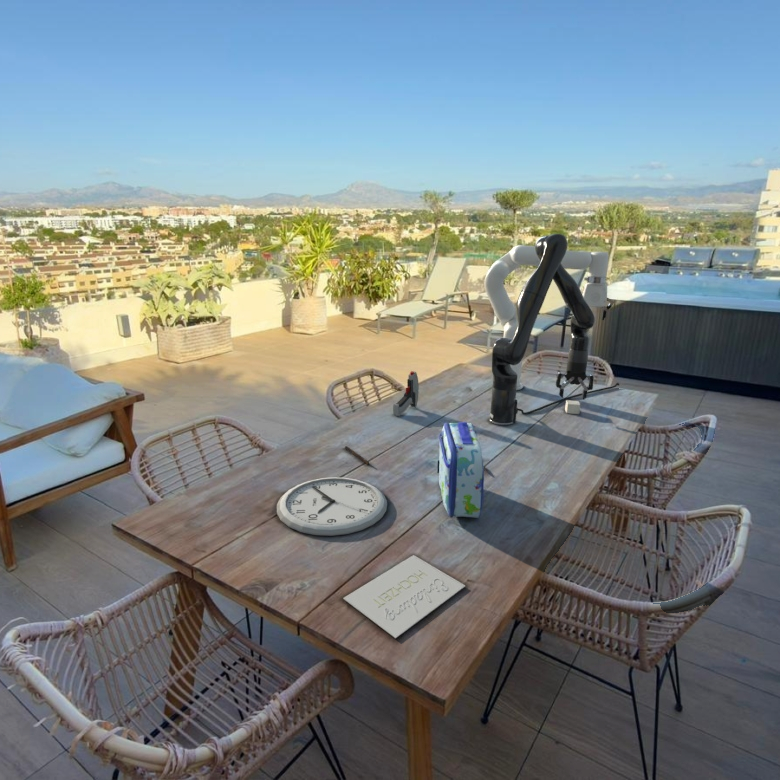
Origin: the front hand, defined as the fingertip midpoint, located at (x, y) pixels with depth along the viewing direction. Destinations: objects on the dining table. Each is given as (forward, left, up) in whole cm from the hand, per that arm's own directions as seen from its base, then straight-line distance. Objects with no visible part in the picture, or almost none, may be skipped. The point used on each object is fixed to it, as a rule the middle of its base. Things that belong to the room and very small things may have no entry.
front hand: (572, 398), depth 215 cm
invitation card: (+98, +92, -7) cm, 134 cm away
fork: (+58, +37, -7) cm, 69 cm away
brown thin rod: (+95, +23, -7) cm, 98 cm away
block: (-2, -2, -7) cm, 7 cm away
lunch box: (+73, +58, -7) cm, 93 cm away
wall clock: (+107, +53, -7) cm, 120 cm away
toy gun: (+67, -16, -7) cm, 69 cm away
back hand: (-22, -25, +28) cm, 44 cm away
